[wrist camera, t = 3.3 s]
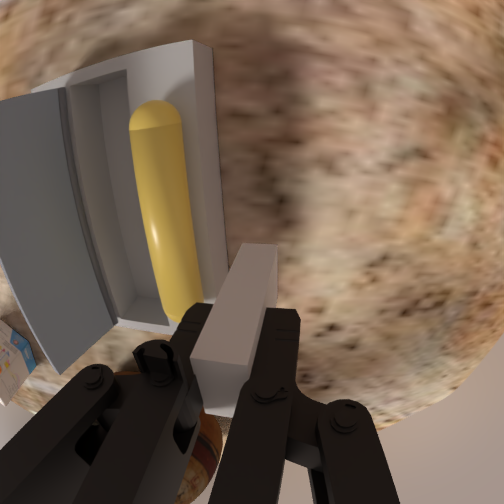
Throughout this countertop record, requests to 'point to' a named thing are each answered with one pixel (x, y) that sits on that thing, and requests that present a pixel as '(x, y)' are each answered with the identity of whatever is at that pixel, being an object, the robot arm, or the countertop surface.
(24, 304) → the cover
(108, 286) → the open grey pill case
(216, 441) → the ceramic pitcher
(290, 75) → the countertop surface
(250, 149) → the countertop surface
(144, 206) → the yellow pill capsule
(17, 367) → the ink box
